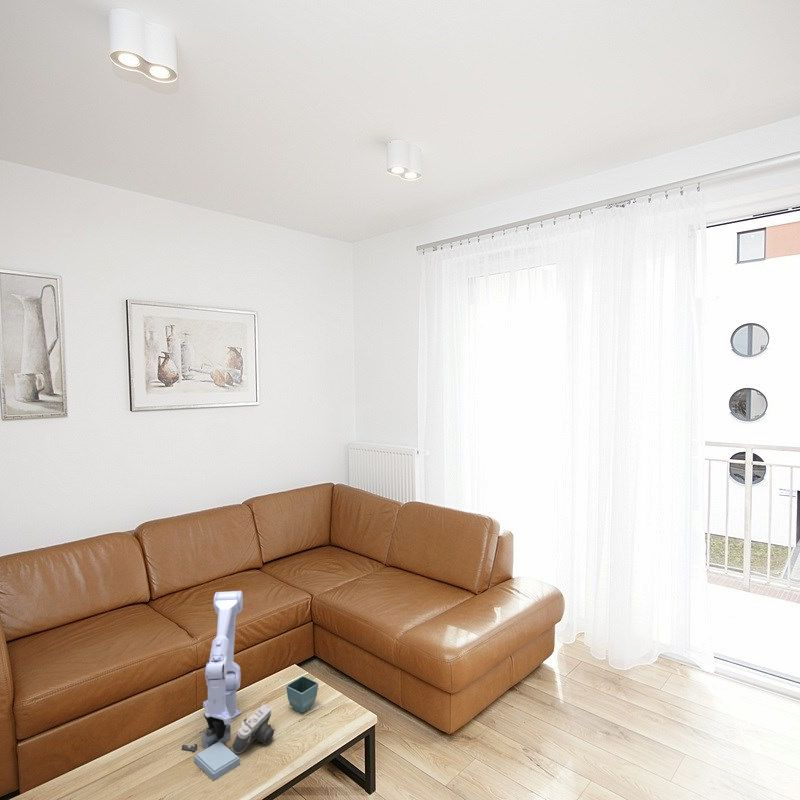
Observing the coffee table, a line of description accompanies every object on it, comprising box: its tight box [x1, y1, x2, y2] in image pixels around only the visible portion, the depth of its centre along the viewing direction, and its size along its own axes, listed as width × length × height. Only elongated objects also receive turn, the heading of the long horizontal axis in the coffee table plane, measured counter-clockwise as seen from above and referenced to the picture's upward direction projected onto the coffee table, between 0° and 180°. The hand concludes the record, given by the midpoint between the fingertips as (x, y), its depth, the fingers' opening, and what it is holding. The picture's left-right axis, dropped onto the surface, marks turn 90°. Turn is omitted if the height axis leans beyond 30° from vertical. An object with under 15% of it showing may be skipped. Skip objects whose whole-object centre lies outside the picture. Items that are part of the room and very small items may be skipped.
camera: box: [231, 704, 275, 755], centre depth 173 cm, size 9×16×10 cm, turn 157°
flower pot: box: [285, 675, 319, 714], centre depth 192 cm, size 9×9×9 cm
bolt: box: [181, 743, 198, 752], centre depth 169 cm, size 5×2×2 cm, turn 79°
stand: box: [193, 741, 241, 781], centre depth 163 cm, size 12×9×2 cm
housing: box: [201, 723, 232, 750], centre depth 173 cm, size 4×8×6 cm, turn 138°
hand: (216, 735), depth 173 cm, fingers closed on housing, 4 cm apart
